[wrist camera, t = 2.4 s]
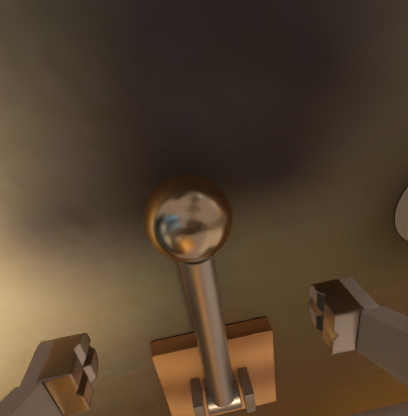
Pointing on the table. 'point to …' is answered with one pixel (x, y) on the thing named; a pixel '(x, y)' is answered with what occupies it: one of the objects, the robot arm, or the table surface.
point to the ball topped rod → (198, 270)
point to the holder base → (240, 362)
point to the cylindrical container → (402, 215)
